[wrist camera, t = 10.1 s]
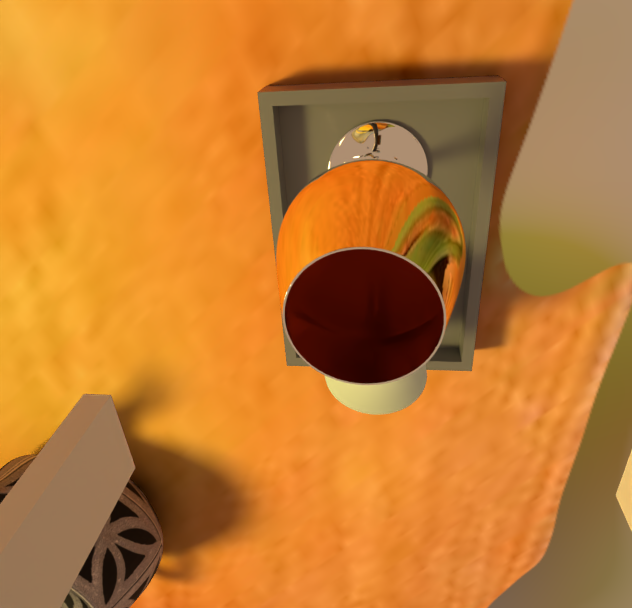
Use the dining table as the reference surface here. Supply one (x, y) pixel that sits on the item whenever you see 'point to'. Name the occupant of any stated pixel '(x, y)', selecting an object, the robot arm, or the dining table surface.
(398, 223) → the wineglass
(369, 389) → the cream rounded cylinder
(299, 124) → the tray
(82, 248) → the dining table surface
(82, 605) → the teapot
